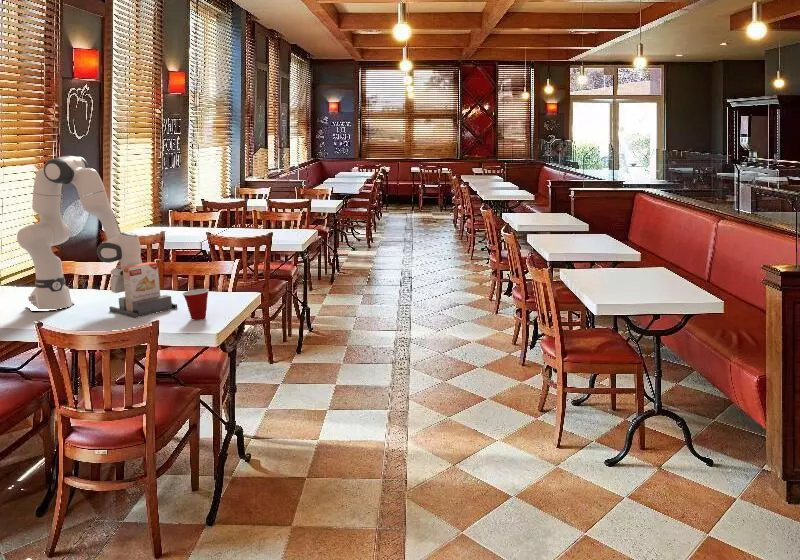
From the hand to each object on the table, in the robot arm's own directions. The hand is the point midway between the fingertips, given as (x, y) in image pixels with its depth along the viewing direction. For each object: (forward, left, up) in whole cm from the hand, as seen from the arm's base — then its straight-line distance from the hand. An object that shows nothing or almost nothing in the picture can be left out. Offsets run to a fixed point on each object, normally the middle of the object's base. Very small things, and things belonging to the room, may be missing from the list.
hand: (134, 299), depth 323 cm
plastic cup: (+41, +5, -4) cm, 41 cm away
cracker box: (+9, -1, -4) cm, 10 cm away
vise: (+8, 0, -4) cm, 9 cm away
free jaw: (+3, 0, -4) cm, 5 cm away
